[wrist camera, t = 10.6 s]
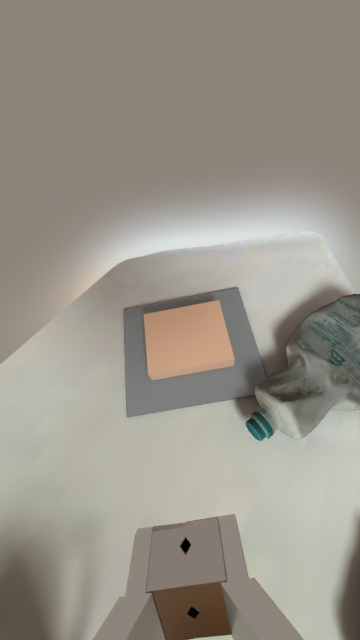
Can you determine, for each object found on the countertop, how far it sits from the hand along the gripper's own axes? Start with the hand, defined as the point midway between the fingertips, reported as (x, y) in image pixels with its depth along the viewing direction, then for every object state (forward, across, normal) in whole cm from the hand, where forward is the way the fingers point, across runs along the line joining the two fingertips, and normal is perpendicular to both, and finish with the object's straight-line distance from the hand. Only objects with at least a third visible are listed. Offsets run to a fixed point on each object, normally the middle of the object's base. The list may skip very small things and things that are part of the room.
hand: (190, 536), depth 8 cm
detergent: (+28, -17, +12) cm, 34 cm away
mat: (+33, 0, +6) cm, 33 cm away
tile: (+28, 0, +8) cm, 29 cm away
